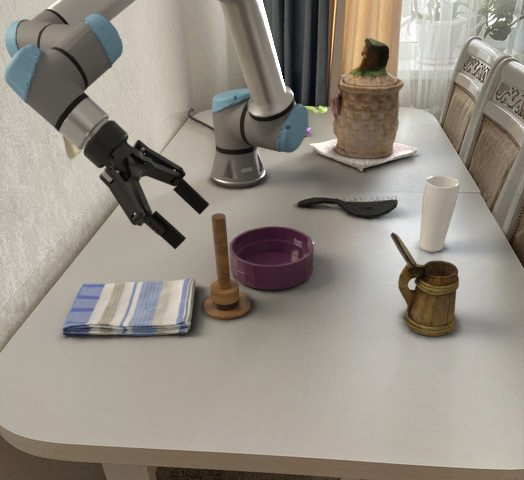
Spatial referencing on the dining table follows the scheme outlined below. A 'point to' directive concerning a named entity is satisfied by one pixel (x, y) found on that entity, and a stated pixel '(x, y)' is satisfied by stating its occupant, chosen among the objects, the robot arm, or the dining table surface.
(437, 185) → the white tumbler
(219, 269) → the dish brush
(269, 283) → the bowl
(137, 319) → the dish towel
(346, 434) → the dining table surface
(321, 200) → the hairbrush
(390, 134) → the cookie jar
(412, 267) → the wooden mug
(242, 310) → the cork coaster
